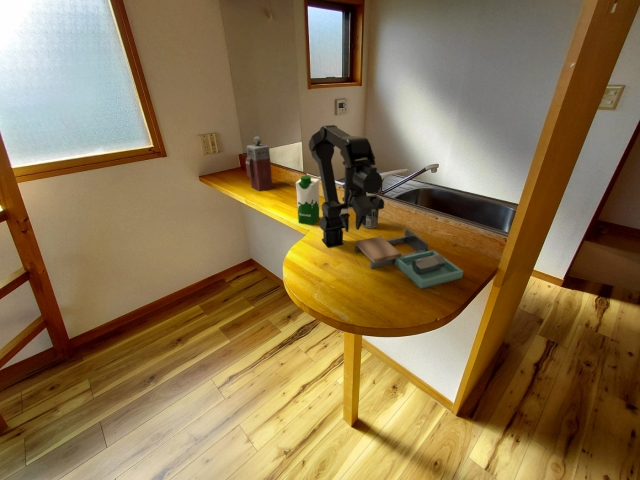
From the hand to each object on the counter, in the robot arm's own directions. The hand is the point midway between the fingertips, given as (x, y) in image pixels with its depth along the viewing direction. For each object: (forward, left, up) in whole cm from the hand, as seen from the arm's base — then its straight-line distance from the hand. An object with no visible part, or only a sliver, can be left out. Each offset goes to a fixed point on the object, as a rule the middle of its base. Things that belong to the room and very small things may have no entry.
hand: (352, 230), depth 95 cm
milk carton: (-3, +37, -12) cm, 39 cm away
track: (+15, 0, -12) cm, 19 cm away
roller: (+20, -13, -9) cm, 26 cm away
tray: (+20, -13, -12) cm, 27 cm away
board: (+10, 0, -12) cm, 16 cm away
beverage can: (+19, +23, -12) cm, 33 cm away
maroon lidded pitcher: (-15, +89, -12) cm, 91 cm away
